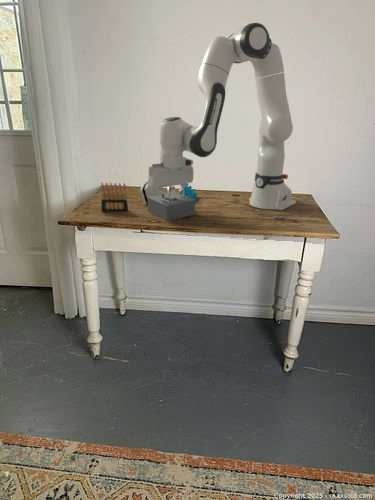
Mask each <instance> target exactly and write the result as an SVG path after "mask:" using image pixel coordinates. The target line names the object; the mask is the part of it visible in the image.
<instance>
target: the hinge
mask: <svg viewBox="0 0 375 500" xmlns="http://www.w3.org/2000/svg"><path fill="white" fill-rule="evenodd" d="M140 187H141V188H140V189H139V191H140V195H141V199H142V202H143V205H144V206H147V205H148V201H147V197H153V196H158V195H159V193H158V192H157V190H156V189H153V188H150V187H149V186H148V181H146V182H145V183H143V184H142V185H141V186H140ZM163 189H164V188H162V190H161V192H162V193H163V194H167V192H165V191H164V190H163Z"/></svg>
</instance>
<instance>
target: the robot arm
mask: <svg viewBox="0 0 375 500" xmlns="http://www.w3.org/2000/svg"><path fill="white" fill-rule="evenodd" d="M269 33H270V32H269V31H268V30H267V28H266V26H264V24H262V23H260V22H251V23H248V24H247V25H245V26H241V27H240V28H239V29H237V30H236V31H235V32H234V33H232V34H230V35H229V36H228V37H225V36H216V37H213V39H212V40H211V41H210V43H209V45H208V46H207V48H206V50H205V52H204V55H203V58H202V60H201V64H200V67H199V70H198V73H197V80H196V83H197V86H198V89H199V91H201V93H202V94H203V95H204V98H205V108H204V112H203V117H202V120H201V123H200V125H199V126H194V125H192V124H190V123H188V122H187V121H184V120H183V119H182V118H181V117H179V116H171V117H166V118H164V119H163V120H162V121H161V122H160V129H159V144H160V151H159V162H157V163H151V165H150V166H149V167H148V176H147V182H148V186H149V187H150V188H153V189H156V190H157V192H158V193H159V198H164V194H163V193H162V192H161V190H162V189H163V188H168V187H169V186H174V187H175V186H180V187H179V189H177V193H178V194H179V195H184V193H183V192H184V191H183V190H184V188H185V186H186V183H187V184H190V183H193V181H194V166H193V165H194V160H193V159H191V158H186V157H185V156H183V155H184V152H185V151H186V152H189V153H191V154H193V155H195V156H197V157H199V158H208V157H209V156H210V155H212V154H213V152H215V150H216V147H217V143H218V130H219V124H220V120H221V117H222V114H223V110H224V109H223V108H224V106H225V105H224V104H225V99H226V86H227V82H228V79H229V76H230V72H231V69H232V67H233V64H242V63H244V62H245V63H247V62H250V63H251V65H252V66H253V70H254V78H255V88H256V94H257V95H256V96H257V101H258V105H259V110H260V114H261V115H260V116H261V119H260V121H259V124H258V125H259V128H258V157H257V168H256V172H255V175H254V181H255V182H254V183H253V186H252V189H251V195H250V197H249V199H248V200H249V205H250V206H252V207H254V208H258V209H263V210H277V211H278V210H279V211H283V210H285V209H287V208H289V207H291V206H293V205H296V204H297V201H296V200H295V199H294V198H293V199H292V195H293V194H292V190H291V188H290V187H289V186H288V185H286V183H285V180H288V178H289V175H288V174H285V173H283V172H284V164H285V159H286V156H285V155H286V154H285V141H287V140H288V139H289V138H290V137H291V136H292V134H293V129H294V125H293V122H292V117H291V111H290V106H289V102H288V96H287V91H286V77H285V67H284V62H283V57H282V53H281V49H280V47H279V46H278V44H276V43H273V42H272V39H271V37H270V34H269Z"/></svg>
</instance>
